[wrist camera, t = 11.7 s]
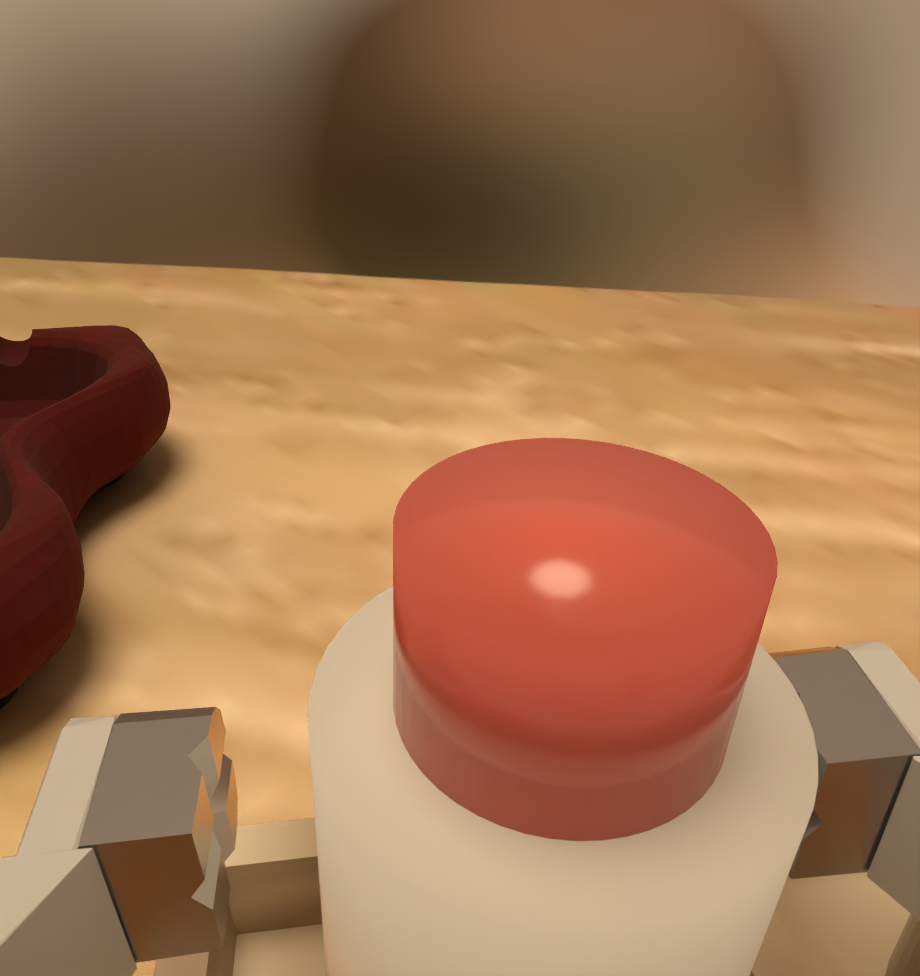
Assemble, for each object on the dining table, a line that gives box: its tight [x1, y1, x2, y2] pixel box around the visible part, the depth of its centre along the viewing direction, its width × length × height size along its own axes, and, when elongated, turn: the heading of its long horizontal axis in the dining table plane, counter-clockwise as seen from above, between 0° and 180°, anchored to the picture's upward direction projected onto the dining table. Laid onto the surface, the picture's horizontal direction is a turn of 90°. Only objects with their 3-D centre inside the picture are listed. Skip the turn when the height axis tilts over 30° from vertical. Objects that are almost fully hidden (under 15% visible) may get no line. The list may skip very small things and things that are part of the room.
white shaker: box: [308, 438, 818, 976], centre depth 10 cm, size 5×5×11 cm
